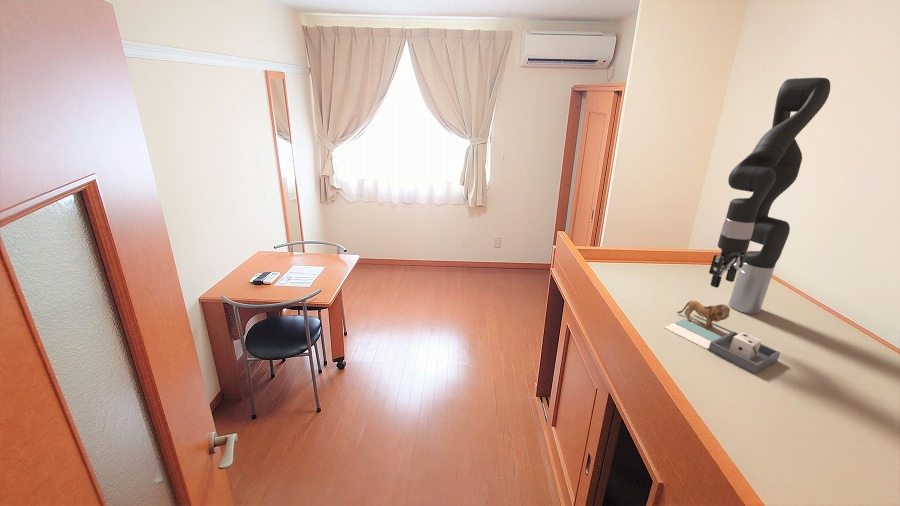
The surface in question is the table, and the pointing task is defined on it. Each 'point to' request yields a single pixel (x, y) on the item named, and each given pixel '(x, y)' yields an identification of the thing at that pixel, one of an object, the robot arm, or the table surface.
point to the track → (694, 332)
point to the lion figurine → (707, 312)
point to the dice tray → (753, 365)
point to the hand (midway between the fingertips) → (721, 283)
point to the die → (745, 345)
